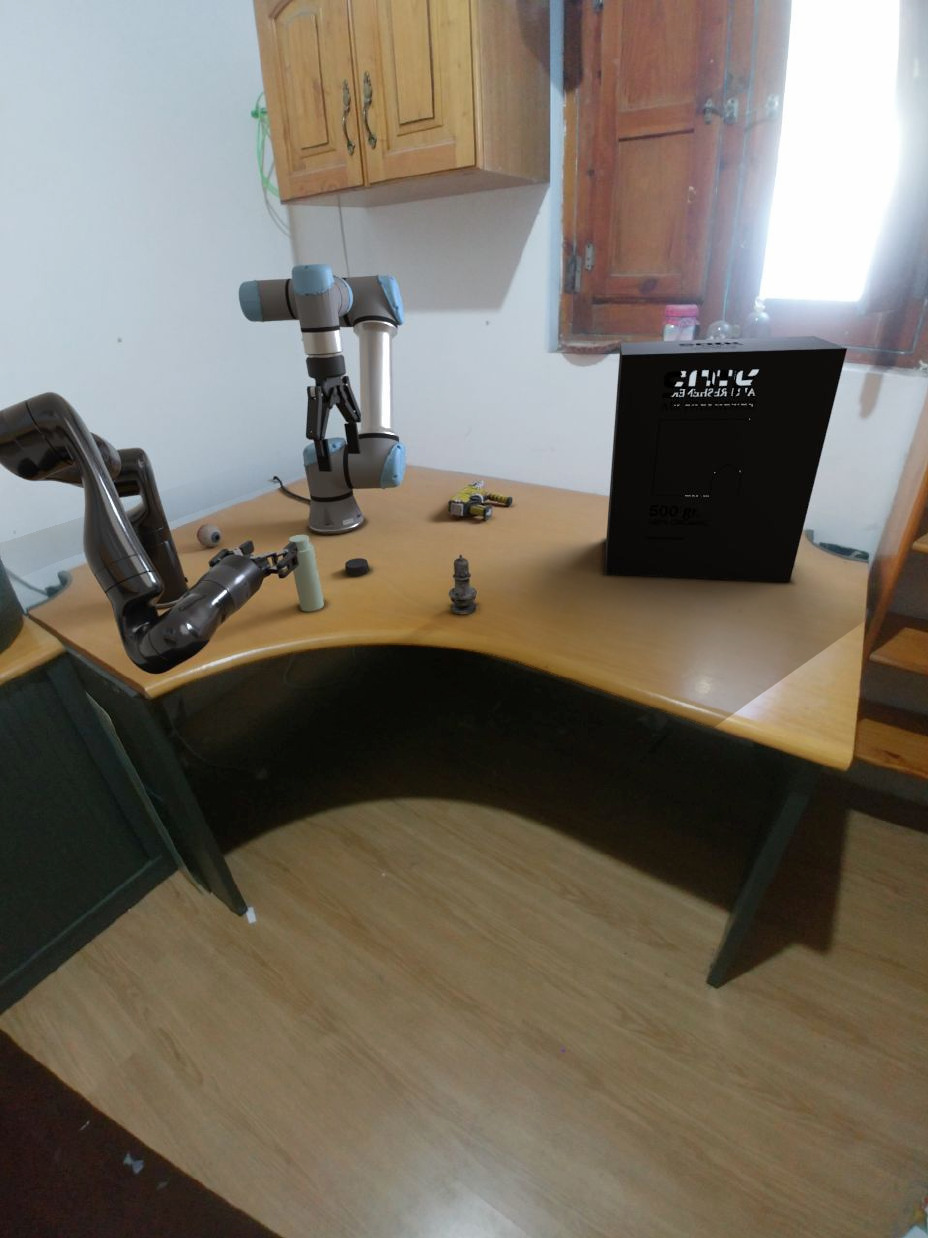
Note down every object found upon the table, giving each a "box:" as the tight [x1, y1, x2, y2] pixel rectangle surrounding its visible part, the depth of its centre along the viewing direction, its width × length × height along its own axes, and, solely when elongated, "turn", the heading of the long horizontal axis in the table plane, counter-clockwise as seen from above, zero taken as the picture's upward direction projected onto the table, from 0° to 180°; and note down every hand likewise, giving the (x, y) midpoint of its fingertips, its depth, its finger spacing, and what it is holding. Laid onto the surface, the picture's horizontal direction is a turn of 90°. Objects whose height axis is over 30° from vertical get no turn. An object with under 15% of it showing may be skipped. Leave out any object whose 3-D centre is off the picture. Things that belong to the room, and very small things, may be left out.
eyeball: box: [196, 523, 223, 548], centre depth 159 cm, size 6×6×6 cm
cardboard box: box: [605, 335, 848, 583], centre depth 127 cm, size 38×20×45 cm, turn 78°
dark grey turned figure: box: [448, 554, 478, 615], centre depth 121 cm, size 6×6×12 cm
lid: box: [344, 557, 370, 577], centre depth 142 cm, size 5×5×2 cm
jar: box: [288, 534, 325, 612], centre depth 124 cm, size 5×5×16 cm
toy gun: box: [447, 479, 514, 521], centre depth 175 cm, size 5×24×15 cm
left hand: (272, 545), depth 111 cm, fingers open, 8 cm apart
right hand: (340, 462), depth 130 cm, fingers open, 13 cm apart
